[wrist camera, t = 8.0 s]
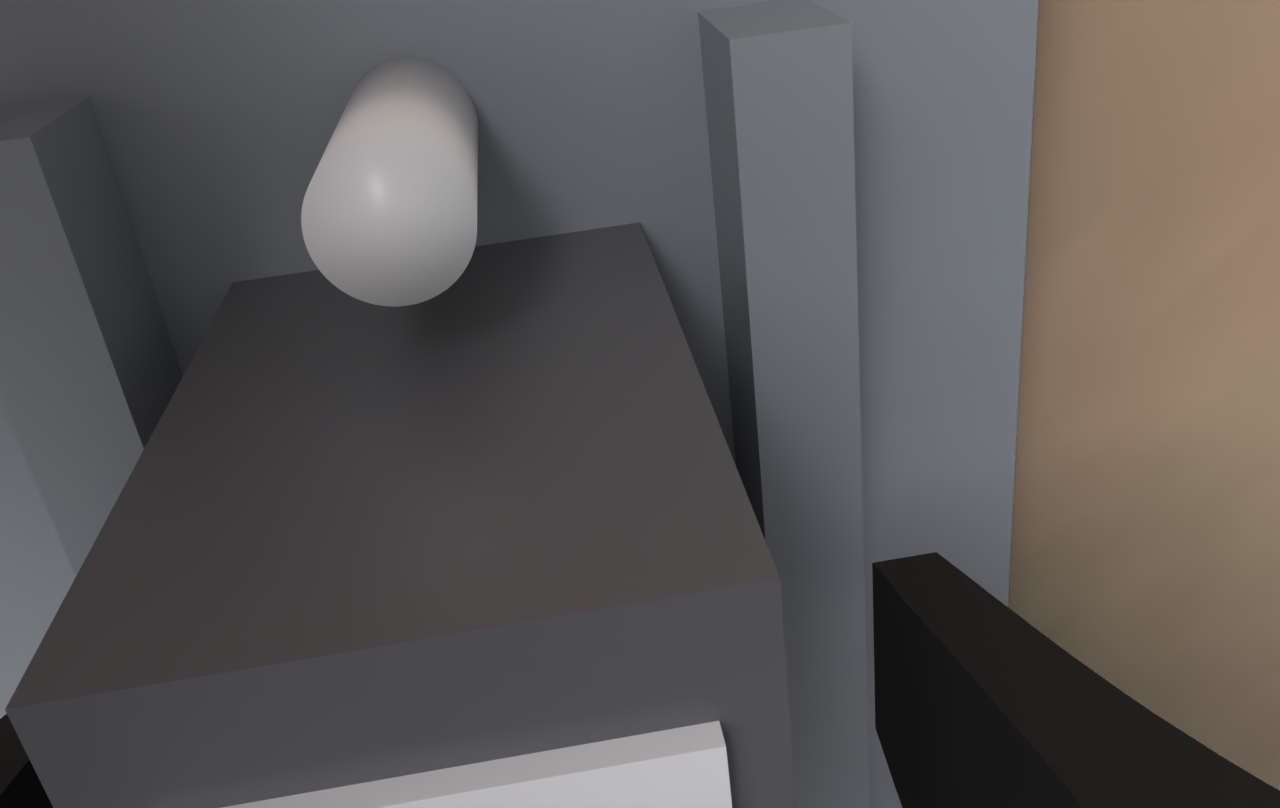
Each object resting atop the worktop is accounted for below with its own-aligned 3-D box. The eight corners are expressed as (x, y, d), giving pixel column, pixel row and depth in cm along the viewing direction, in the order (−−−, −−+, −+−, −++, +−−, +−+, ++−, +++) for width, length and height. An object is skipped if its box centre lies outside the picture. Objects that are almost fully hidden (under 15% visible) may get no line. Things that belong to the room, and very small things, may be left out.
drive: (699, 743, 15) (833, 1302, 9) (387, 799, 14) (331, 1405, 9) (640, 221, 11) (791, 604, 6) (232, 282, 11) (-10, 739, 6)
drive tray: (961, 860, 18) (1086, 1130, 14) (195, 1001, 17) (116, 1324, 14) (998, -336, 11) (1280, -420, 7) (-350, -173, 10) (-853, -169, 6)
